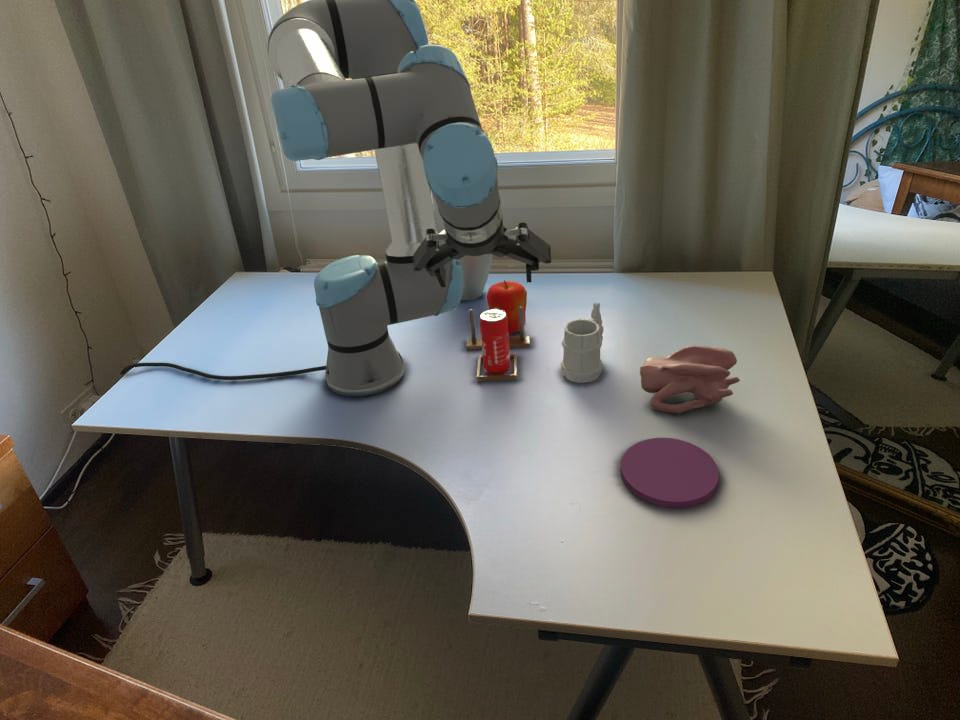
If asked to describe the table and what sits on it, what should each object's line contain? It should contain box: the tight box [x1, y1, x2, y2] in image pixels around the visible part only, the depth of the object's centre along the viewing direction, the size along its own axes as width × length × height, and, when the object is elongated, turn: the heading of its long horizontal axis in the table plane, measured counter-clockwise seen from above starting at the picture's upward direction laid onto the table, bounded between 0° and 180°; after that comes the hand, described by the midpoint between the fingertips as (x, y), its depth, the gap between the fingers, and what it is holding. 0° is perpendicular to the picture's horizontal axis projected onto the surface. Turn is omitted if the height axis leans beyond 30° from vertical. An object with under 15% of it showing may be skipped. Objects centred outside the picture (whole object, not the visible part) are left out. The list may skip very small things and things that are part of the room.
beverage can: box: [479, 309, 511, 375], centre depth 118 cm, size 5×5×12 cm
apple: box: [485, 279, 528, 335], centre depth 131 cm, size 9×8×12 cm
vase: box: [439, 228, 494, 302], centre depth 144 cm, size 14×14×25 cm
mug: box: [560, 302, 604, 384], centre depth 116 cm, size 8×12×12 cm, turn 146°
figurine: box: [639, 345, 741, 415], centre depth 106 cm, size 12×10×15 cm
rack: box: [466, 307, 531, 382], centre depth 122 cm, size 15×13×8 cm
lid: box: [619, 437, 720, 509], centre depth 93 cm, size 14×14×1 cm
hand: (485, 276), depth 99 cm, fingers open, 13 cm apart
